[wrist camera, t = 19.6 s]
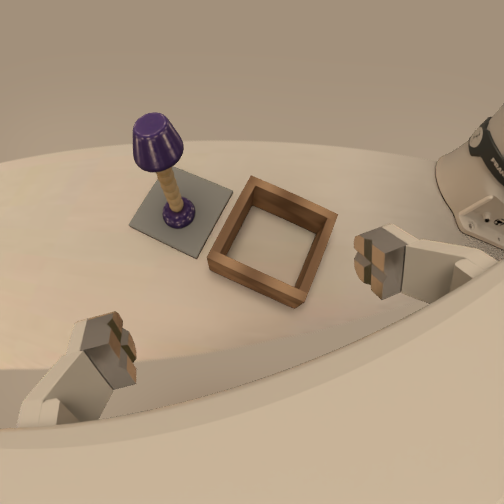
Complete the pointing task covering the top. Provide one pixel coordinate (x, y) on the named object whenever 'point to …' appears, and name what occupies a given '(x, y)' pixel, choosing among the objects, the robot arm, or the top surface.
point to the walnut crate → (287, 209)
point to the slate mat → (206, 215)
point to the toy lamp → (162, 164)
